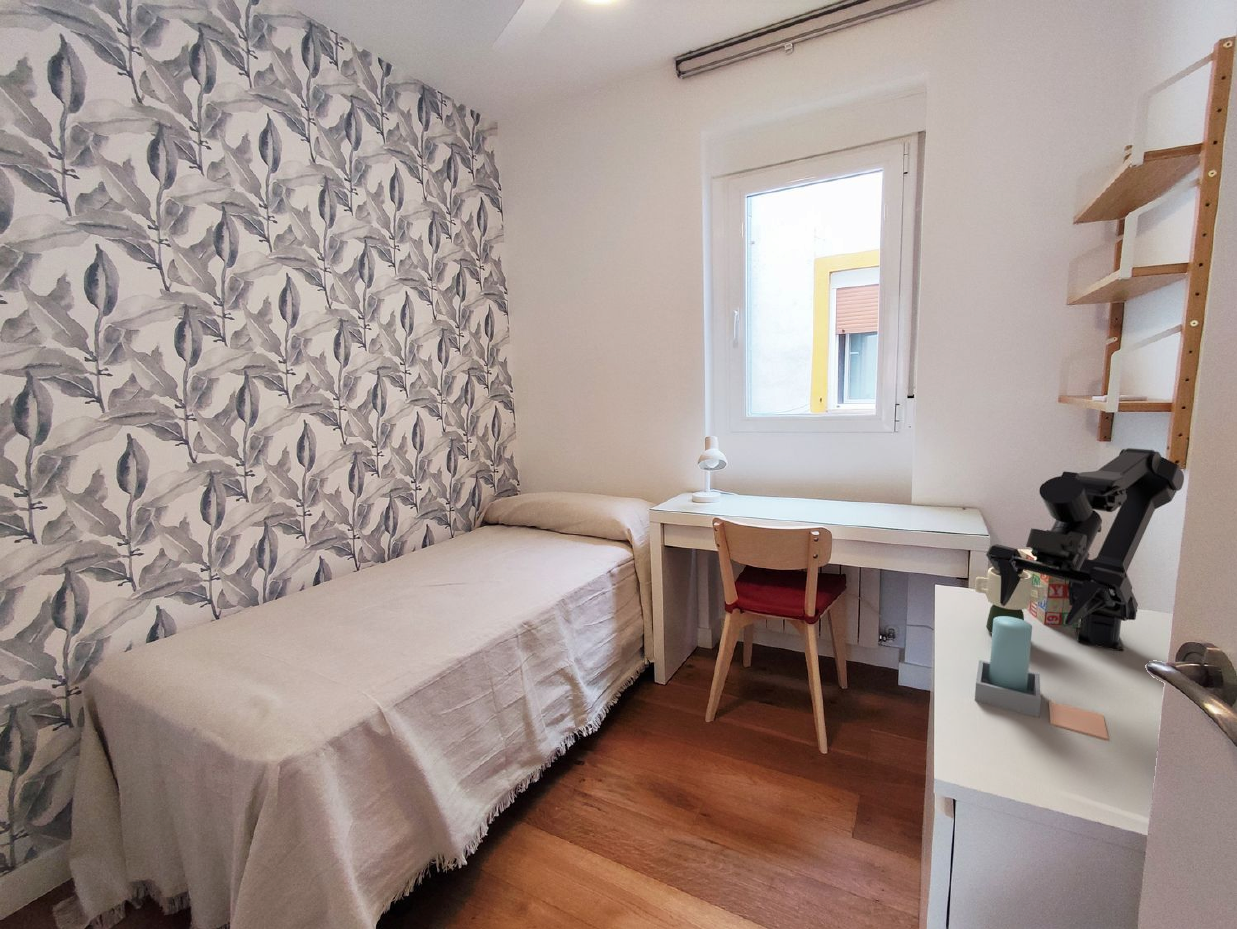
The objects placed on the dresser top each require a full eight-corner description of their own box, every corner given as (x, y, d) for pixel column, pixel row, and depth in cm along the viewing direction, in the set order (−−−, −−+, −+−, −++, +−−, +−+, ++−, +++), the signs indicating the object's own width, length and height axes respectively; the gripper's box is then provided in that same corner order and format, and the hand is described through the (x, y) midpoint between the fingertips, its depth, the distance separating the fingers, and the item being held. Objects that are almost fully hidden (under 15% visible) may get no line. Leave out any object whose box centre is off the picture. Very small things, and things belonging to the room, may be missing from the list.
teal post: (988, 683, 91) (994, 613, 89) (1025, 692, 88) (1032, 620, 86) (987, 697, 87) (992, 625, 85) (1025, 708, 84) (1032, 633, 82)
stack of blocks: (995, 585, 131) (999, 536, 129) (1025, 586, 130) (1029, 536, 128) (1044, 625, 110) (1049, 568, 108) (1079, 627, 109) (1085, 569, 107)
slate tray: (977, 677, 93) (979, 659, 93) (1037, 692, 88) (1039, 673, 88) (974, 702, 87) (975, 682, 86) (1038, 719, 82) (1040, 699, 81)
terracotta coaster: (1048, 704, 85) (1048, 700, 85) (1102, 718, 82) (1102, 714, 81) (1050, 726, 80) (1050, 722, 80) (1107, 742, 76) (1108, 738, 76)
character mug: (1038, 633, 107) (1043, 571, 105) (1040, 649, 101) (1046, 583, 99) (972, 621, 113) (976, 562, 111) (971, 635, 108) (975, 573, 105)
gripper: (995, 500, 96) (956, 572, 93) (1132, 522, 80) (1092, 610, 77) (1014, 534, 102) (978, 604, 98) (1147, 562, 85) (1109, 646, 82)
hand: (1033, 614), depth 89 cm, fingers open, 9 cm apart
